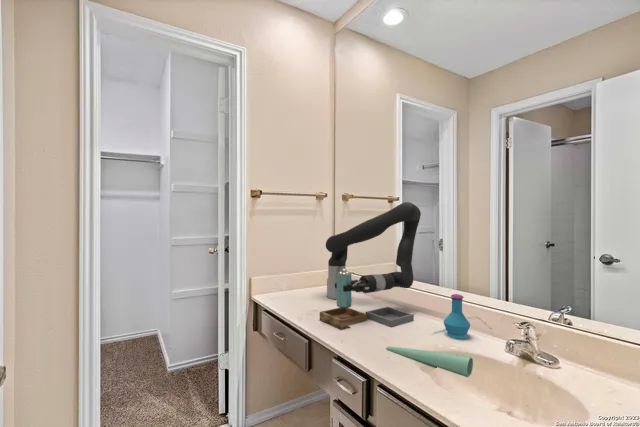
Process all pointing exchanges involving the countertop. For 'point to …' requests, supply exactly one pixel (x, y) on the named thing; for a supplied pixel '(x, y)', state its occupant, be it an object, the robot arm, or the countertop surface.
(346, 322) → the walnut tray
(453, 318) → the perfume bottle
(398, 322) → the charcoal bin
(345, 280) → the teal octagonal tall prism
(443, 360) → the mint green cone
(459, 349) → the countertop surface
